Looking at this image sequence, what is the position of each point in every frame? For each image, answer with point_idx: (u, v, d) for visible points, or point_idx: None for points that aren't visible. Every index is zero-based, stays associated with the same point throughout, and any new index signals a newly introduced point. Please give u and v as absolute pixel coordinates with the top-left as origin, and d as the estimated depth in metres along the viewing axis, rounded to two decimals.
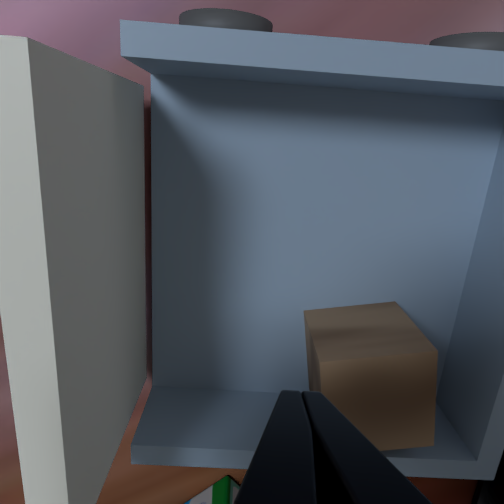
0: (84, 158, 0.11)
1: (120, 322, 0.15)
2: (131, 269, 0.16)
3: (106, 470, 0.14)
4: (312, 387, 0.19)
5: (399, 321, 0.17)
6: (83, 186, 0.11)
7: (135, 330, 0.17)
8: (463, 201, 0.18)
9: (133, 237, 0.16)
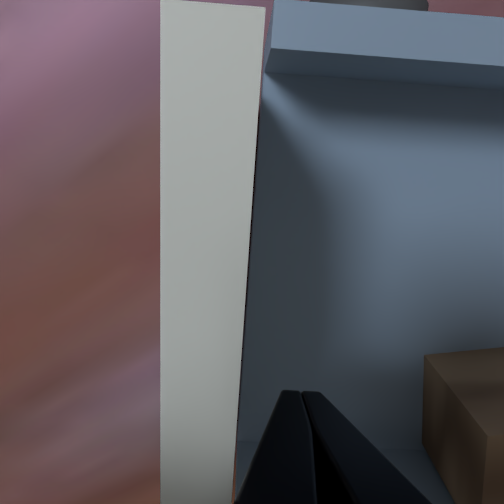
0: None
1: None
2: None
3: None
4: (439, 448, 0.16)
5: None
6: None
7: None
8: None
9: None
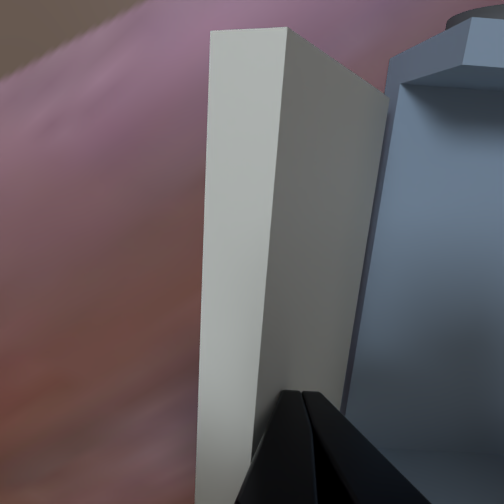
0: (321, 193, 0.08)
1: (321, 389, 0.12)
2: (342, 323, 0.13)
3: None
4: None
5: None
6: (314, 229, 0.08)
7: (333, 393, 0.14)
8: None
9: (350, 283, 0.13)
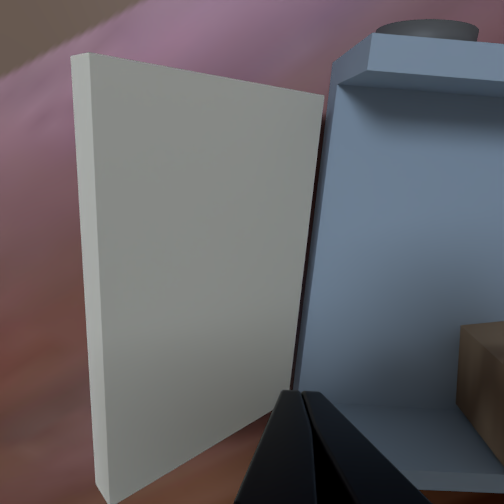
0: (178, 160, 0.12)
1: (232, 328, 0.15)
2: (266, 281, 0.16)
3: (183, 457, 0.15)
4: (474, 404, 0.18)
5: None
6: (173, 185, 0.12)
7: (267, 344, 0.17)
8: None
9: (275, 250, 0.16)
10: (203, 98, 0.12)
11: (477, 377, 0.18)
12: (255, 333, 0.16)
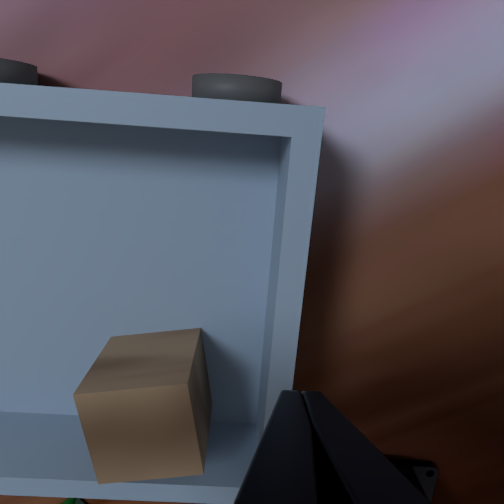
0: None
1: None
2: None
3: None
4: None
5: (183, 350, 0.18)
6: None
7: None
8: (251, 231, 0.18)
9: None
10: None
11: None
12: None
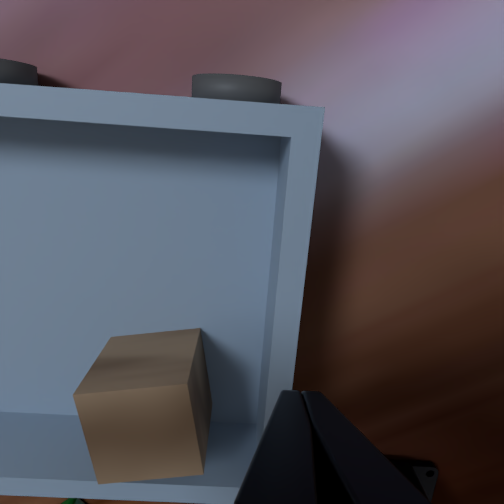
0: None
1: None
2: None
3: None
4: None
5: (183, 350, 0.18)
6: None
7: None
8: (251, 232, 0.18)
9: None
10: None
11: None
12: None
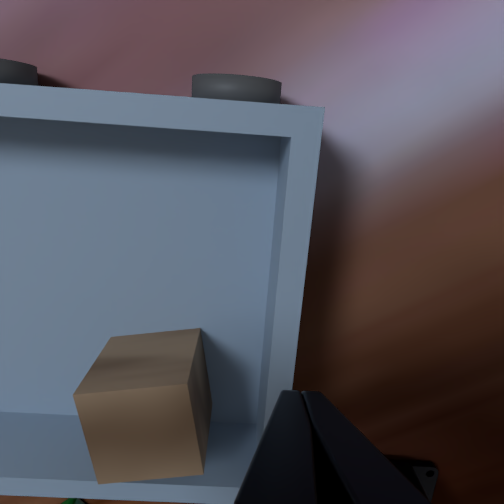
0: None
1: None
2: None
3: None
4: None
5: (183, 350, 0.18)
6: None
7: None
8: (251, 232, 0.18)
9: None
10: None
11: None
12: None
